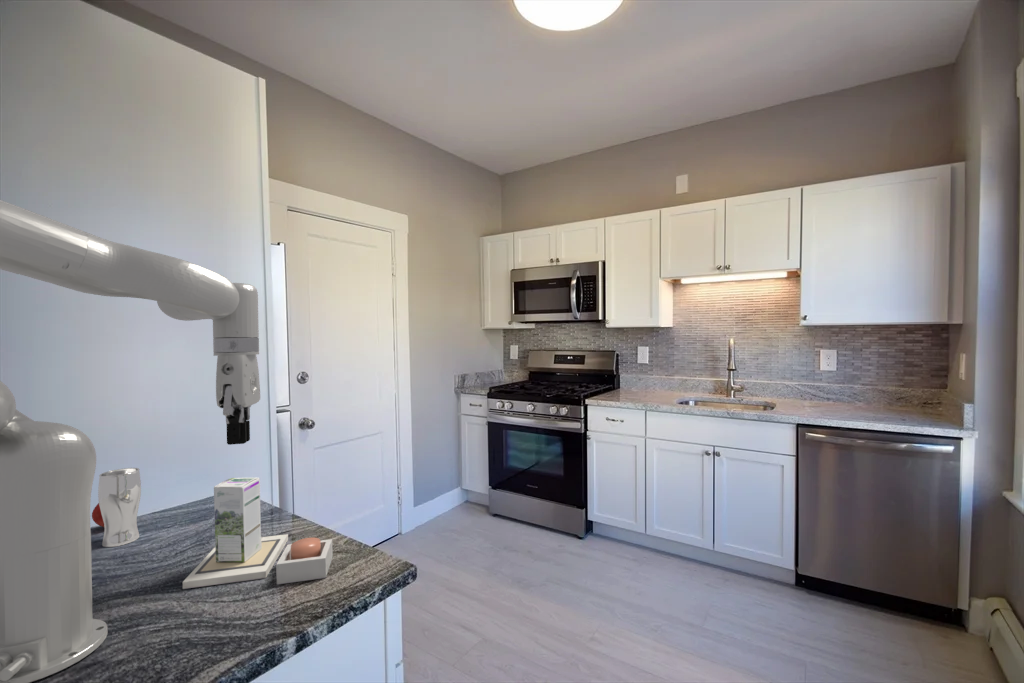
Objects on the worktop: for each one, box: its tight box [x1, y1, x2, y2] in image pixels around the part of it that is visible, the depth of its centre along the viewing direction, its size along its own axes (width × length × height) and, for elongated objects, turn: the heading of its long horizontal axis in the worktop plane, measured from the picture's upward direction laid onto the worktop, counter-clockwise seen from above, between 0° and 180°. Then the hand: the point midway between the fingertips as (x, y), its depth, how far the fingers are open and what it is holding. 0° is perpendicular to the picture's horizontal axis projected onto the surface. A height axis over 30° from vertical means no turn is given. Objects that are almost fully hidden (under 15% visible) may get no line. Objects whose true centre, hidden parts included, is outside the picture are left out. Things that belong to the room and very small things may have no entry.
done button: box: [291, 537, 321, 560], centre depth 82 cm, size 5×5×2 cm
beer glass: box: [97, 467, 142, 548], centre depth 97 cm, size 7×7×15 cm
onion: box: [91, 502, 104, 528], centre depth 104 cm, size 6×6×8 cm
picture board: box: [182, 534, 289, 590], centre depth 86 cm, size 16×13×1 cm
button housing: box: [275, 538, 334, 585], centre depth 82 cm, size 8×8×4 cm
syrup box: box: [213, 477, 262, 562], centre depth 86 cm, size 6×6×14 cm
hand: (238, 442), depth 86 cm, fingers closed
